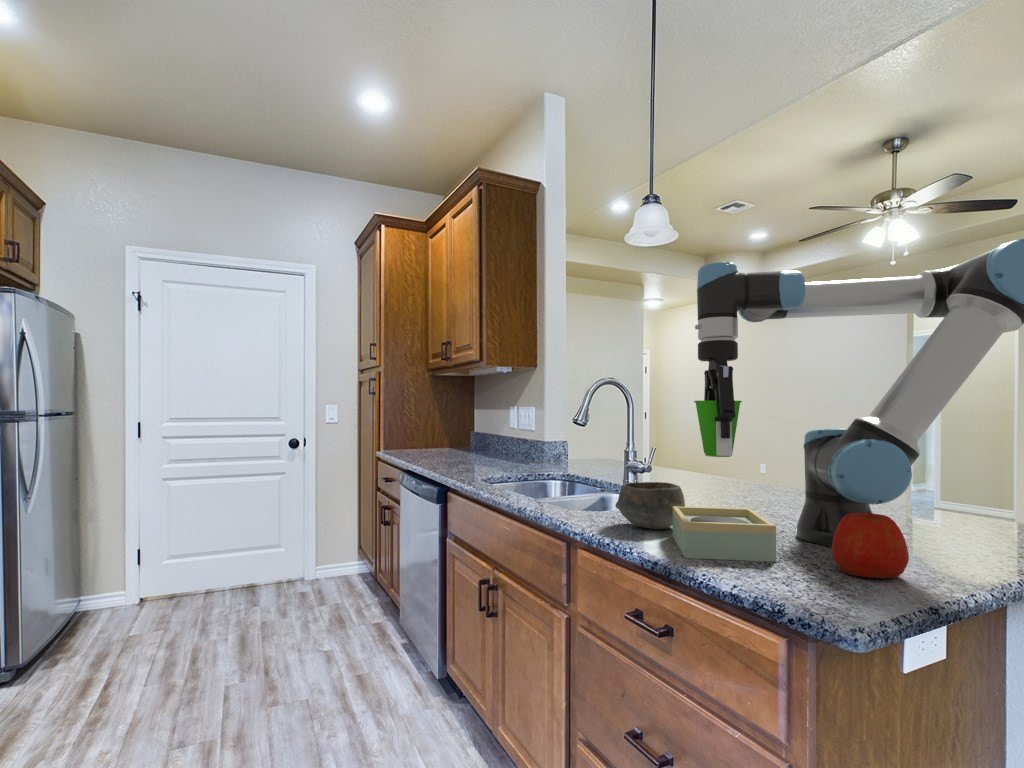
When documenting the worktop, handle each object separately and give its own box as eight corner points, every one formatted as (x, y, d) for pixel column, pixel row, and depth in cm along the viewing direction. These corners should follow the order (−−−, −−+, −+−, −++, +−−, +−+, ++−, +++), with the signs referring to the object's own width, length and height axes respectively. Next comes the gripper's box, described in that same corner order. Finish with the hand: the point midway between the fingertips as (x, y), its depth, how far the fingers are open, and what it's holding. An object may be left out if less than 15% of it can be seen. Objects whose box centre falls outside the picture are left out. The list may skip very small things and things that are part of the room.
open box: (751, 539, 113) (750, 508, 113) (776, 561, 97) (775, 525, 97) (672, 536, 115) (672, 506, 116) (684, 557, 99) (684, 522, 100)
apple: (881, 589, 83) (879, 519, 83) (816, 569, 93) (815, 507, 93) (923, 580, 87) (922, 514, 88) (857, 562, 97) (856, 503, 98)
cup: (747, 458, 102) (746, 400, 102) (697, 457, 103) (696, 400, 104) (737, 454, 110) (736, 400, 111) (691, 453, 112) (690, 400, 113)
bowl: (693, 535, 117) (692, 489, 117) (622, 534, 117) (622, 488, 117) (674, 521, 131) (674, 480, 131) (611, 521, 131) (611, 479, 131)
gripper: (688, 346, 119) (689, 448, 118) (709, 334, 98) (710, 458, 97) (724, 346, 118) (725, 449, 117) (752, 333, 96) (754, 459, 96)
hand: (718, 453), depth 107 cm, fingers closed on cup, 9 cm apart
